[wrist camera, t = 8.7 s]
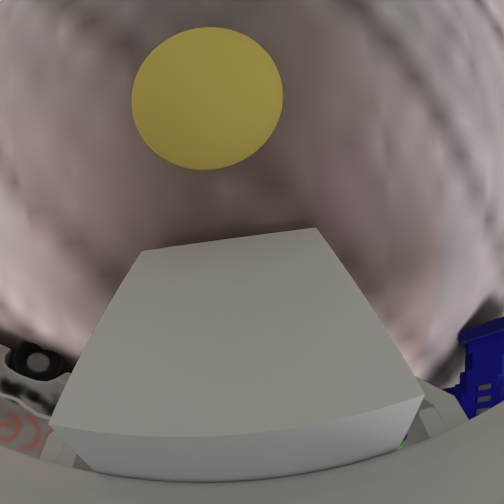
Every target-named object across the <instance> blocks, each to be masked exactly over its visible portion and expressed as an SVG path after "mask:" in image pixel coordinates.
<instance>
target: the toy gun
mask: <svg viewBox="0 0 504 504" xmlns="http://www.w3.org/2000/svg"><path fill="white" fill-rule="evenodd" d="M459 345H461V346H463V347H465V348H466V358H465V372H462V373H460V384H456V385H455V387H451V388H445V389H442V390H443V391H445V392H447V393H449V394H451V395H453V396H455V398H456V399H457V401H458V403H459V404H460V406H461V408H462V409H463V411H464V413H465V414H466V416H467V418H468V419H469V420H470V419H472V418H474V417H476V416H478V415H479V414H481V413H483V412H485V411H487V410H489V409H490V408H492V407H494V406H496V405H497V404H499V403H501V402H502V401H504V316H503V317H501V318H498V319H495V320H493V321H490V322H487V323H484V324H481V325H478V326H475V327H472V328H469V329H466V330H463V331H461V334H460V335H459ZM407 436H408V434H407V433H406V435H405V437H404V439H403V441H402V443H401V444H400V446H399V448H398V450H400V449H401V447H402V445H403V443H404V441H405V440H406V438H407Z"/></svg>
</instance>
